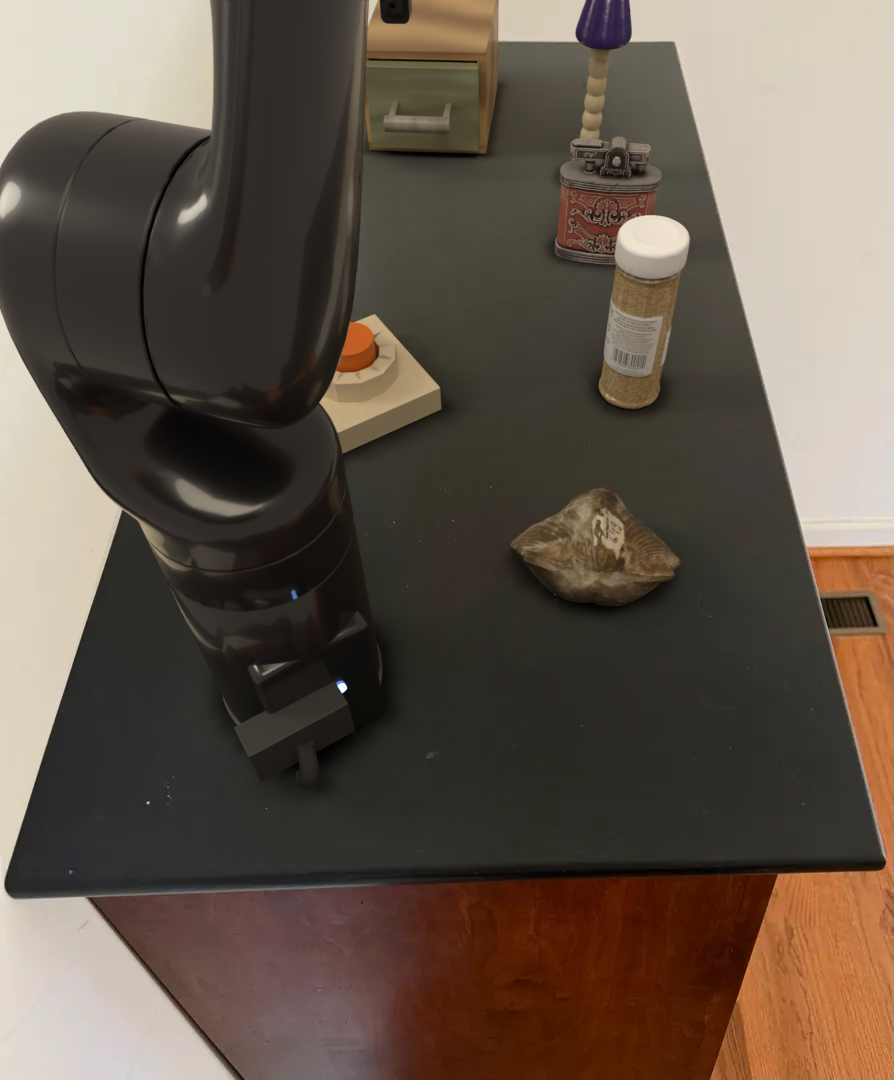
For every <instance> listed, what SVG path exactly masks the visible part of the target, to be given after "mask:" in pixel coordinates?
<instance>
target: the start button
mask: <svg viewBox="0 0 894 1080" xmlns="http://www.w3.org/2000/svg"><path fill="white" fill-rule="evenodd" d="M375 358H376V351H375V343H374V335H373V332H372V331H371V329H370V328H368V327H367V326H365V325H363V324H360V323H356V321H350V325H349V329H348V333H347V337H346V341H345V345H344V349H343V353H342V356H341V360H340V363H339V365H338V368H337V370H336V371H338V372H341V373H346V372H358V371H360V370H363V369H365V368H368V367H370V366H371V365H372V364H373V363H374V361H375Z"/></svg>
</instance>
